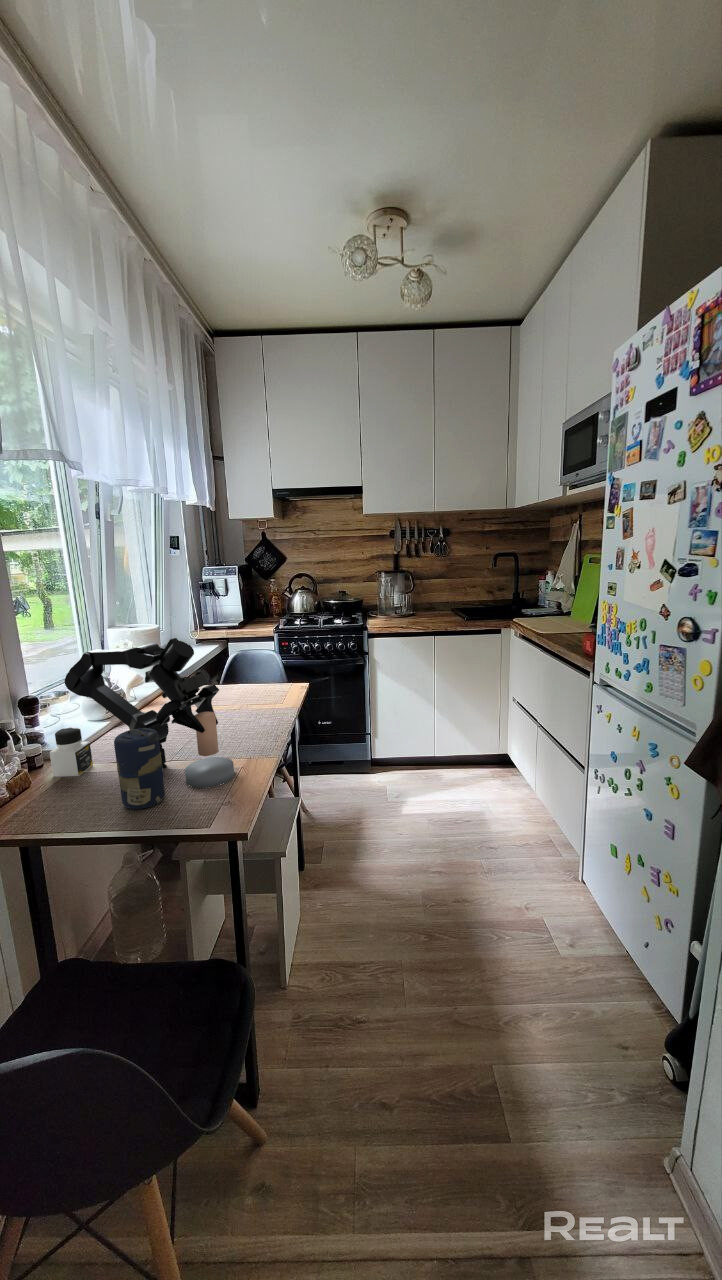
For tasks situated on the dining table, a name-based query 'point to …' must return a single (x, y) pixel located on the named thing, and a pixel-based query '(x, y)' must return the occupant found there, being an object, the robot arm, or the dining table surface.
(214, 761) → the pedestal
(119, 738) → the canister
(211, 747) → the tan piece
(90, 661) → the robot arm
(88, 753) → the medicine bottle
